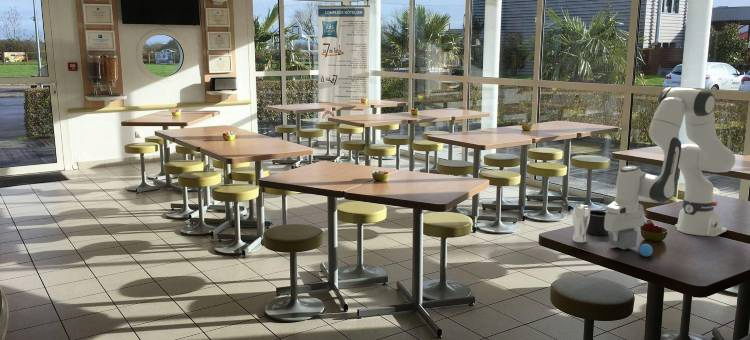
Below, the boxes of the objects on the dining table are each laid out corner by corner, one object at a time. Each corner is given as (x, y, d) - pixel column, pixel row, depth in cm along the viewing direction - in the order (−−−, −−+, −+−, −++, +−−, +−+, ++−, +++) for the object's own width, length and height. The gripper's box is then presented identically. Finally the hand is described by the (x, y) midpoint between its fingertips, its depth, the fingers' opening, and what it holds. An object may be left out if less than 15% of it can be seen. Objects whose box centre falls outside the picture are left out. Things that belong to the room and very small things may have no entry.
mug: (611, 230, 287) (612, 211, 285) (606, 237, 276) (607, 217, 275) (589, 227, 291) (591, 208, 289) (583, 234, 281) (585, 214, 279)
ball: (643, 253, 255) (645, 241, 254) (654, 257, 251) (656, 244, 250) (635, 255, 253) (636, 243, 252) (646, 259, 248) (647, 246, 247)
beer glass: (589, 243, 267) (591, 209, 264) (571, 242, 268) (574, 208, 266) (587, 239, 274) (589, 205, 271) (570, 237, 275) (572, 204, 272)
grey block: (621, 241, 266) (622, 226, 264) (635, 246, 259) (637, 231, 258) (609, 244, 262) (610, 228, 261) (623, 249, 256) (625, 233, 255)
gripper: (636, 201, 265) (633, 233, 268) (602, 207, 255) (600, 240, 258) (649, 204, 260) (646, 237, 262) (615, 210, 250) (612, 244, 252)
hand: (623, 239), depth 260 cm, fingers closed on grey block, 7 cm apart
